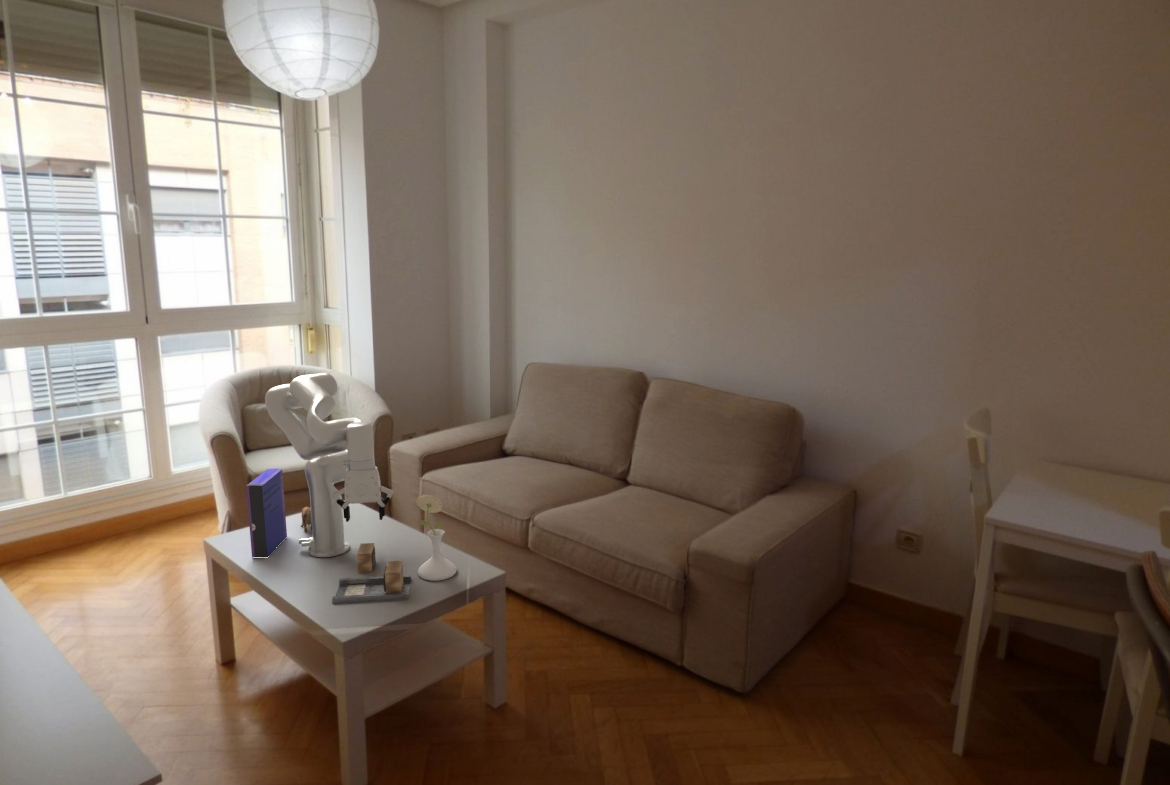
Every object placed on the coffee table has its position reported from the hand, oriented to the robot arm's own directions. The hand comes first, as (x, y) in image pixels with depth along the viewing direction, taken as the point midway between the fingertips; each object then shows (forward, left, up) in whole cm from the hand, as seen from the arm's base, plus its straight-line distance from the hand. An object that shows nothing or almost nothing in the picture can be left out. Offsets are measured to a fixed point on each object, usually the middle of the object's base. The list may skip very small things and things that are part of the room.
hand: (364, 519), depth 224 cm
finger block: (0, 0, -16) cm, 16 cm away
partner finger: (+10, -17, -15) cm, 25 cm away
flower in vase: (+20, -6, -16) cm, 27 cm away
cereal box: (-34, +22, -17) cm, 43 cm away
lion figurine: (-24, +38, -17) cm, 48 cm away
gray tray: (+4, -17, -16) cm, 24 cm away
